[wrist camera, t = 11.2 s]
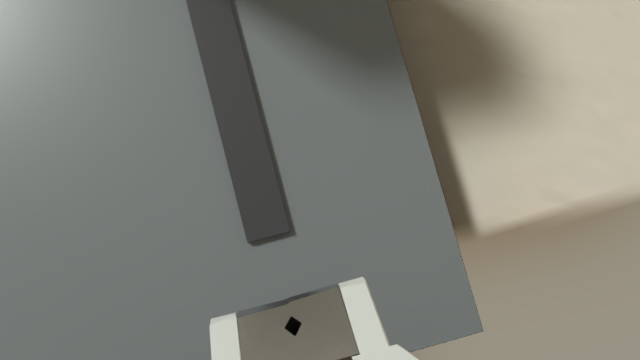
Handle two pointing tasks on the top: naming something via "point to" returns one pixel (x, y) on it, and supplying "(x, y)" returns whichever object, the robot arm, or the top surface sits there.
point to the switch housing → (211, 174)
